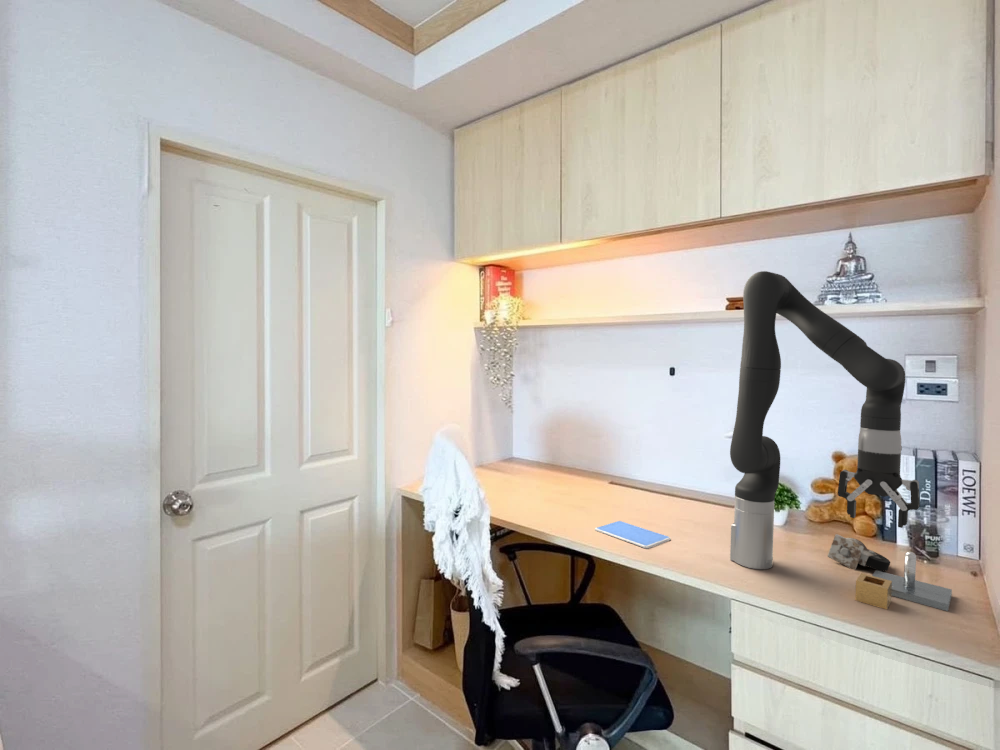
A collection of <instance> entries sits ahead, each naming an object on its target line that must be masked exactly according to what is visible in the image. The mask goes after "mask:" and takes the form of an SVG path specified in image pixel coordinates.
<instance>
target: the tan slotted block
mask: <svg viewBox="0 0 1000 750" xmlns="http://www.w3.org/2000/svg"><path fill="white" fill-rule="evenodd" d="M891 593H892V581H890V580H886V579H882V578H879V577H875V576H872V575H871V574H867V573H863V572H861V573H860V574H859V575H858V577H857V578H856V580H855V598H854V599H855V600H854V601H856V602H860V603H863V604H867V605H871V606H874V607H876V608H877V607H878V608H880V609H884V610H888V608H889V606H890V604H891V602H892V596H891Z"/></svg>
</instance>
